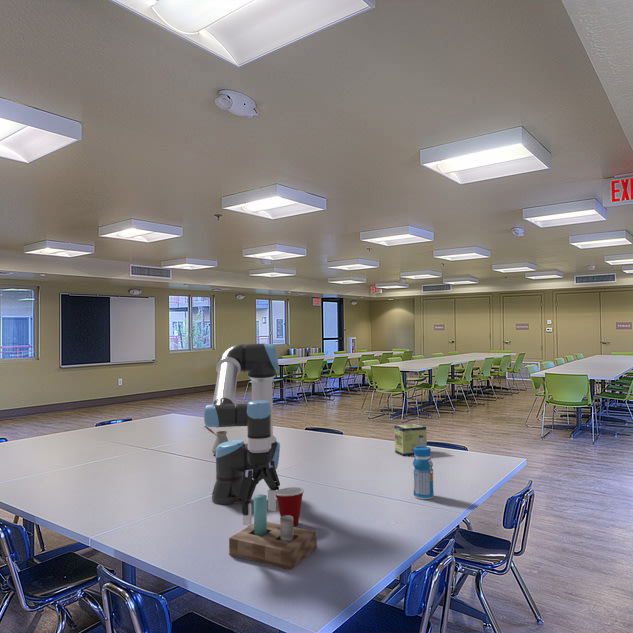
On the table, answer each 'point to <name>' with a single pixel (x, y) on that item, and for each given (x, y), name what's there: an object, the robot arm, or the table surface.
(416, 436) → the protein box
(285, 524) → the bore block
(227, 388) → the robot arm
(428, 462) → the beverage bottle
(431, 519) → the table surface
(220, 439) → the coffee pot
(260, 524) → the teal peg
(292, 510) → the plastic cup
